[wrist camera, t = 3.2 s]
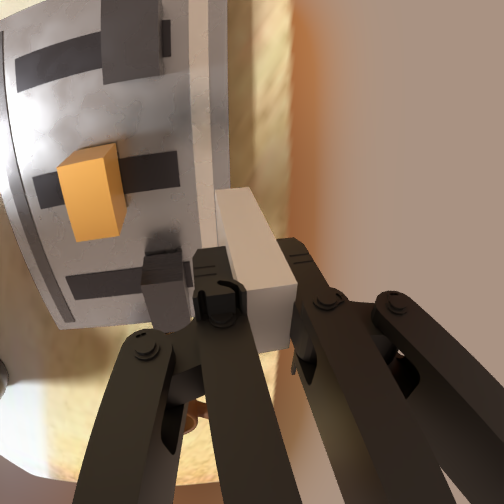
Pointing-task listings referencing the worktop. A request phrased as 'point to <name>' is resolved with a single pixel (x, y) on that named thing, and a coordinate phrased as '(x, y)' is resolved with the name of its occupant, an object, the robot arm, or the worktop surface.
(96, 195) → the tall orange block
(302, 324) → the robot arm
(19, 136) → the panel
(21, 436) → the worktop surface
